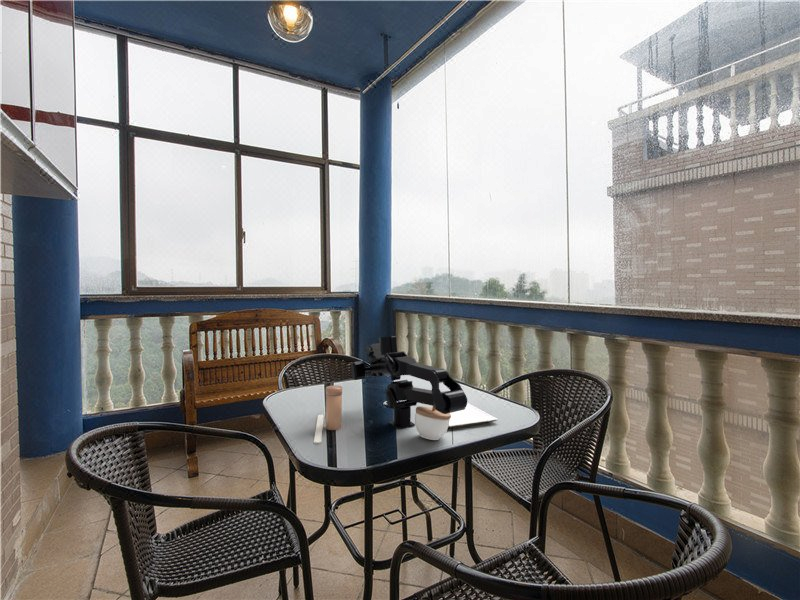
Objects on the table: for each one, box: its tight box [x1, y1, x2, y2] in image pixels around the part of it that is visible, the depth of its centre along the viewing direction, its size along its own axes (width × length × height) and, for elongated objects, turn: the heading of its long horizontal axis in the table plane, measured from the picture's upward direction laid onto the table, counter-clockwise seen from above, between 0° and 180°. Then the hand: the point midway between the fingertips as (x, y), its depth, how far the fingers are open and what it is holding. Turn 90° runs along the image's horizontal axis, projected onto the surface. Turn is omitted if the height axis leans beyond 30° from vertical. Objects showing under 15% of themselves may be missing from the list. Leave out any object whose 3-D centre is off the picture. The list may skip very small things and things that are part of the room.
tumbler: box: [325, 384, 343, 431], centre depth 127 cm, size 5×5×13 cm
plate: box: [431, 402, 498, 428], centre depth 137 cm, size 19×19×2 cm
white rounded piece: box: [414, 406, 451, 441], centre depth 119 cm, size 11×11×9 cm
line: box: [313, 414, 325, 445], centre depth 126 cm, size 24×2×1 cm, turn 9°
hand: (363, 368), depth 150 cm, fingers open, 9 cm apart
